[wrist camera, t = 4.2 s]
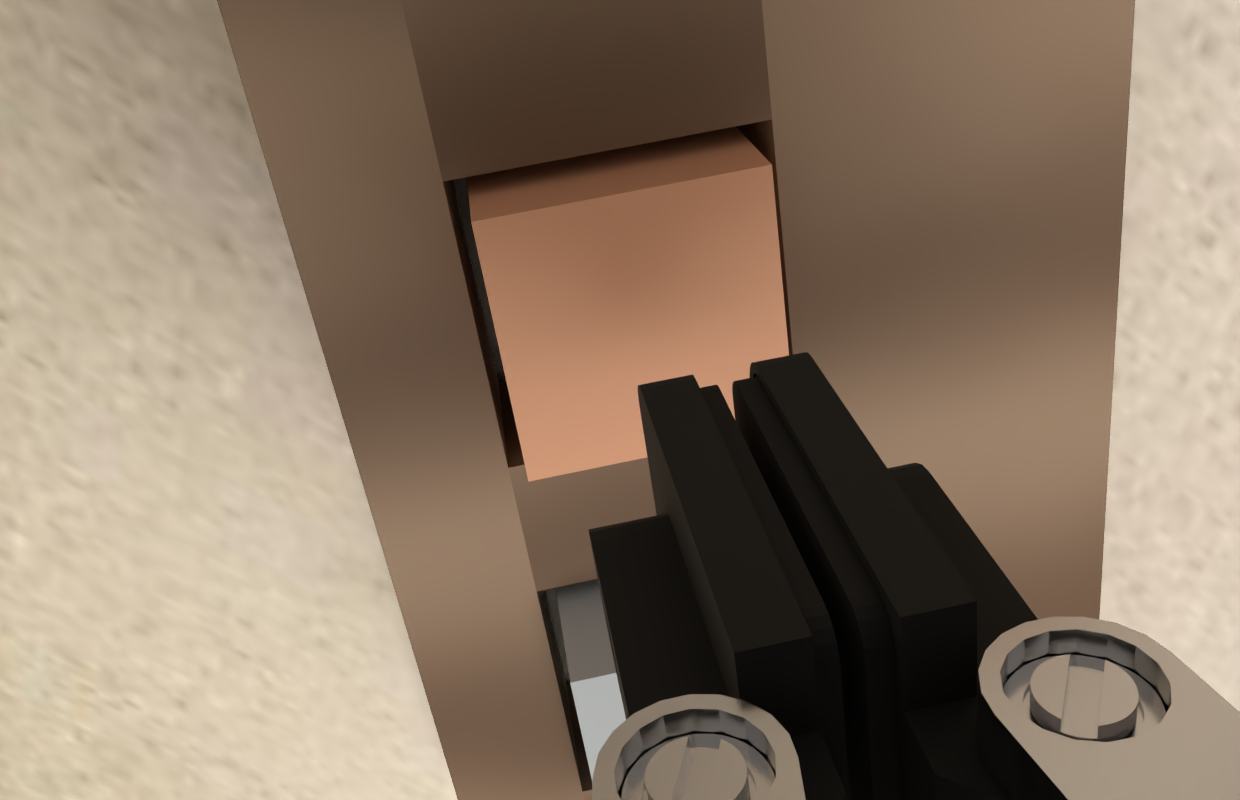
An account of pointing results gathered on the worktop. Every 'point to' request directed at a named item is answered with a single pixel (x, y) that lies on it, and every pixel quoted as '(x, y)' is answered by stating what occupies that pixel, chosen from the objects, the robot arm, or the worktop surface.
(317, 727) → the worktop surface
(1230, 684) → the worktop surface
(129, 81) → the worktop surface
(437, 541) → the key panel
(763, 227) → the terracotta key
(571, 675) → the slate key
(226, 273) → the worktop surface
